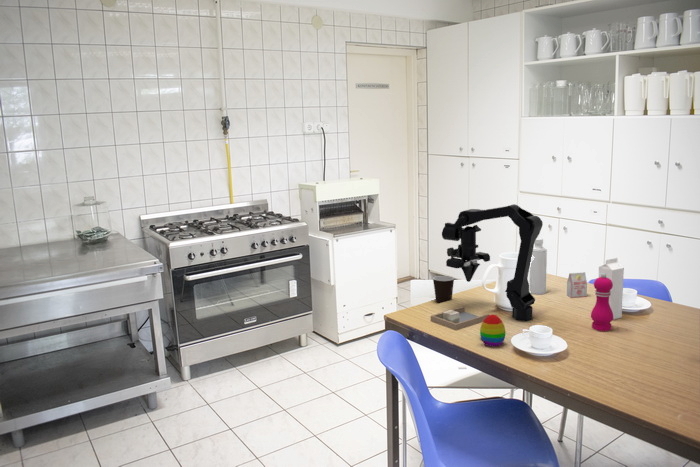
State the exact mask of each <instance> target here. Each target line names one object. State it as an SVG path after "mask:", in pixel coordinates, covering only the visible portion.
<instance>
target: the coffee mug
mask: <svg viewBox="0 0 700 467" xmlns="http://www.w3.org/2000/svg"><path fill="white" fill-rule="evenodd" d="M432 281H433V289H434V295H435V302H436V304H443V303H445V302H450V301H452V300H453V291H454V283H455V277H453V276H450V275H437V276H434V277H433V278H432Z"/></svg>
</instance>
